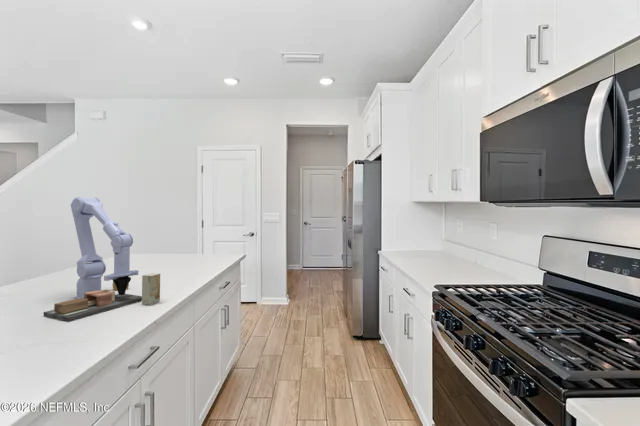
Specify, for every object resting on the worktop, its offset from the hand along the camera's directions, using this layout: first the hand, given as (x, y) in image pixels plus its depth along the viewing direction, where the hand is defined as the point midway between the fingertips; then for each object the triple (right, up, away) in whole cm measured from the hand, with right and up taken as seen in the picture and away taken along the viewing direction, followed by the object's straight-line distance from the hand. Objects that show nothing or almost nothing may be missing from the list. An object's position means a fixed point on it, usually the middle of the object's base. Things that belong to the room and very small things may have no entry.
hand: (121, 294), depth 149 cm
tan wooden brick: (-6, -1, -14) cm, 15 cm away
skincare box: (+13, -3, -2) cm, 14 cm away
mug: (-14, -3, +24) cm, 28 cm away
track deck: (-4, -3, -10) cm, 11 cm away
